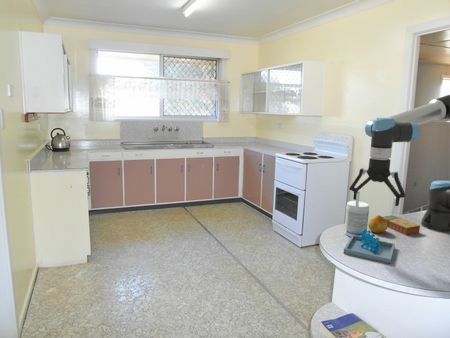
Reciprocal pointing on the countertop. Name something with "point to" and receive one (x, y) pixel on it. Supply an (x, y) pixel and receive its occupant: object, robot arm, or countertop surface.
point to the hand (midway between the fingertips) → (374, 210)
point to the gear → (370, 241)
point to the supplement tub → (356, 218)
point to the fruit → (377, 224)
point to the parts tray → (356, 250)
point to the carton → (401, 225)
